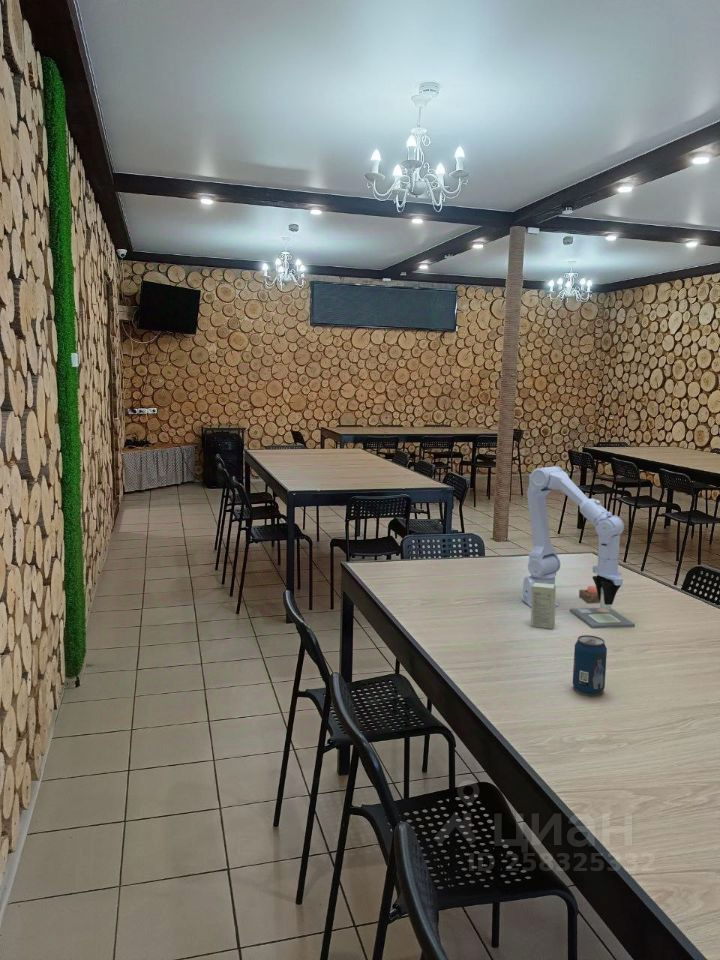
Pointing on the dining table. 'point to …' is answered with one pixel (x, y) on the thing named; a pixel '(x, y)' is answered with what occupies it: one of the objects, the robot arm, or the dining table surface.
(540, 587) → the skincare box
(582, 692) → the soda can
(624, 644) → the dining table surface
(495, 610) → the dining table surface
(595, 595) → the button box
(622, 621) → the picture board
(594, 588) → the button
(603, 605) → the pale green cylinder
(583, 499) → the robot arm
